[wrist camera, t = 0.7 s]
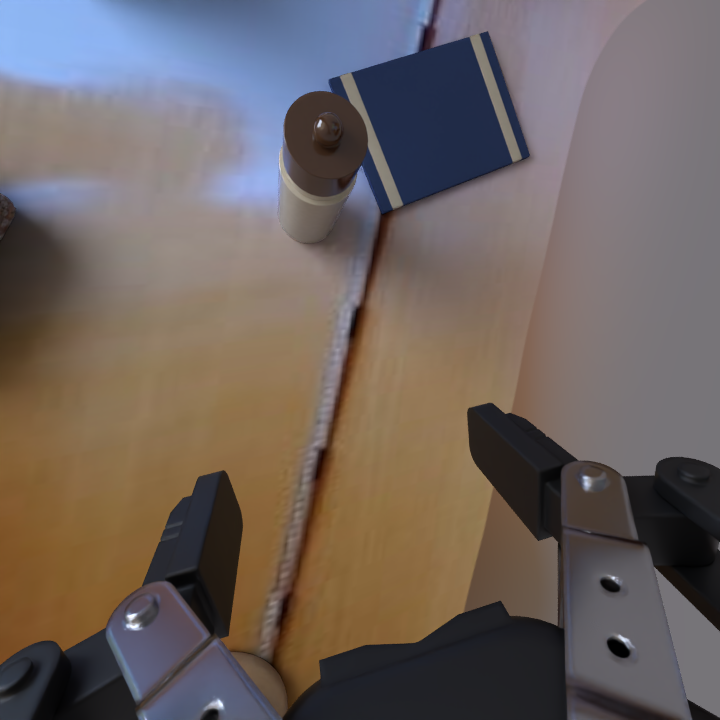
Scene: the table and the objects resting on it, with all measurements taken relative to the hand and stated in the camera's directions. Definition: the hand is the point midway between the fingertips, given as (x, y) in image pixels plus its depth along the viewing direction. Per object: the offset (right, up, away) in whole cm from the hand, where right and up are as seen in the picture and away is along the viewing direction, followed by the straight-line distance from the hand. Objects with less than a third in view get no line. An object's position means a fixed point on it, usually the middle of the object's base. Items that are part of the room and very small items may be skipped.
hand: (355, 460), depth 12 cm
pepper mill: (-5, +17, +23) cm, 29 cm away
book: (+8, +27, +26) cm, 38 cm away
